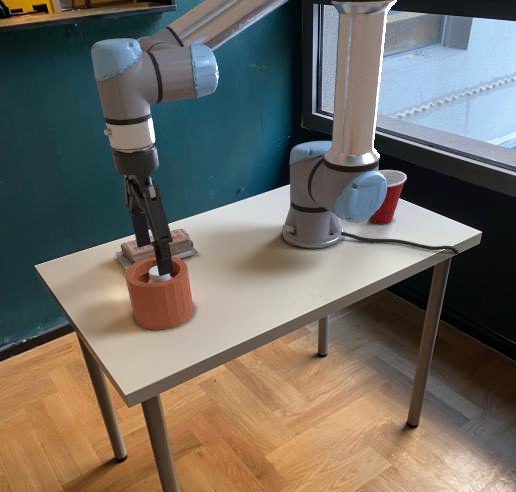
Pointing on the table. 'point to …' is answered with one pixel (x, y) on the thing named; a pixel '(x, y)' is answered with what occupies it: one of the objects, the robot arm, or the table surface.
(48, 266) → the table surface
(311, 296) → the table surface
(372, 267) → the table surface
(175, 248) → the packaged product
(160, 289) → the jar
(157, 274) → the supplement bottle
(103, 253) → the table surface
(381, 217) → the plastic cup
